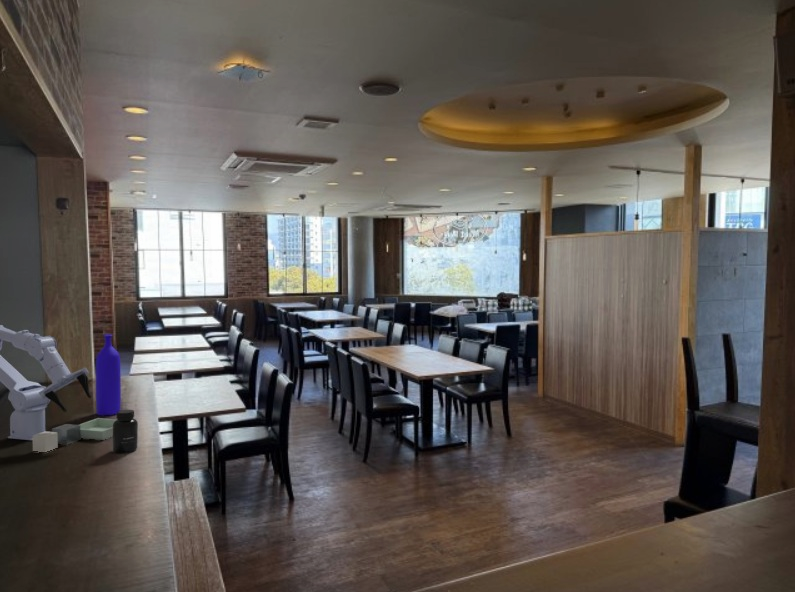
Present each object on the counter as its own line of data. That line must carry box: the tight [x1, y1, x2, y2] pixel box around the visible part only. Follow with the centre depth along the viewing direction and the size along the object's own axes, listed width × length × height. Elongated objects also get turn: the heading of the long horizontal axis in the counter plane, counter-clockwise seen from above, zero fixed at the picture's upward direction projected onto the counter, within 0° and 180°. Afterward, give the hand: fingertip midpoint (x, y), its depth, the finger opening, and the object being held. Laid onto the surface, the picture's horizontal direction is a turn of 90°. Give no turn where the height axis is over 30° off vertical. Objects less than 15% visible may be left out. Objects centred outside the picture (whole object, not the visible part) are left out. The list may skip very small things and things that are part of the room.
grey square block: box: [51, 423, 81, 446], centre depth 175 cm, size 6×6×5 cm
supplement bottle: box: [112, 409, 139, 454], centre depth 168 cm, size 7×7×12 cm
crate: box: [79, 417, 117, 441], centre depth 184 cm, size 13×13×3 cm
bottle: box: [95, 334, 122, 416], centre depth 209 cm, size 8×8×30 cm
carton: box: [32, 430, 59, 453], centre depth 167 cm, size 4×4×5 cm
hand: (77, 404), depth 174 cm, fingers open, 7 cm apart
